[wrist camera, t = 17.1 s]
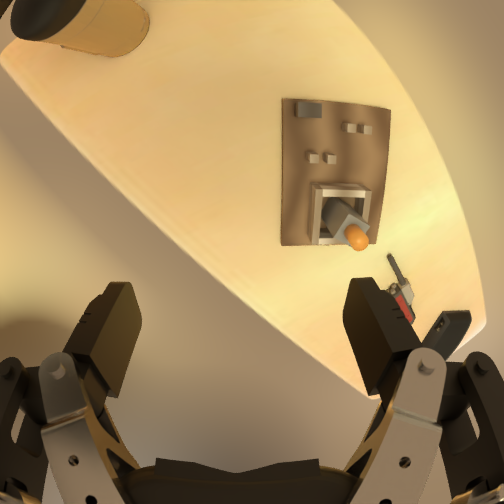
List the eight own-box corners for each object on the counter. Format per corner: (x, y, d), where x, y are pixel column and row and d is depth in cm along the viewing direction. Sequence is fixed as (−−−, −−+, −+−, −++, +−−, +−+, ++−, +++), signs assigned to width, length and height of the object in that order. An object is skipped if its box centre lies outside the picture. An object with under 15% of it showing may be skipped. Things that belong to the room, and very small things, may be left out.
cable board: (280, 242, 44) (284, 257, 40) (282, 99, 33) (286, 97, 29) (373, 240, 44) (383, 254, 40) (387, 109, 33) (402, 110, 29)
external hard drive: (470, 308, 54) (477, 318, 51) (437, 358, 64) (442, 368, 60) (440, 309, 54) (447, 320, 50) (406, 362, 63) (411, 373, 59)
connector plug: (319, 214, 40) (340, 249, 31) (331, 193, 39) (357, 223, 29) (338, 224, 41) (362, 260, 32) (350, 204, 40) (379, 236, 30)
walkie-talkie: (419, 309, 53) (391, 249, 45) (428, 322, 49) (401, 261, 42) (388, 330, 56) (352, 276, 48) (395, 344, 52) (360, 290, 44)
